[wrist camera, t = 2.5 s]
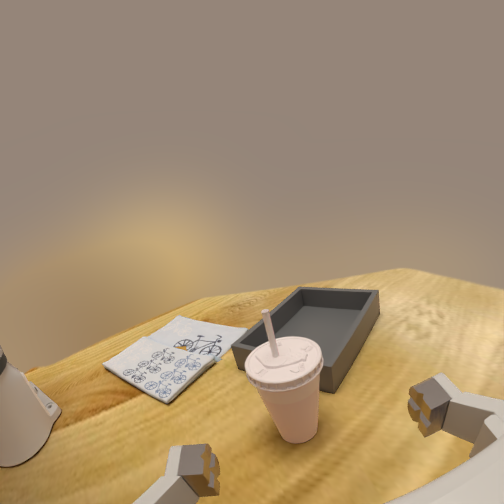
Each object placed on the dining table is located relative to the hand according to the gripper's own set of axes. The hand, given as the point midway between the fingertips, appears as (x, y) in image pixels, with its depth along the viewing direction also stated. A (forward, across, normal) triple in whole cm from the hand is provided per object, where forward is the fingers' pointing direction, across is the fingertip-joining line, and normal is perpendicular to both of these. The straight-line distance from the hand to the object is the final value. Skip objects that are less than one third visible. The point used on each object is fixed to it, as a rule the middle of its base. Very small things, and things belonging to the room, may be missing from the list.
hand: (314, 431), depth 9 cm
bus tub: (+28, -5, +14) cm, 32 cm away
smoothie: (+12, 0, +14) cm, 19 cm away
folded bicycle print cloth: (+33, +17, +15) cm, 40 cm away
